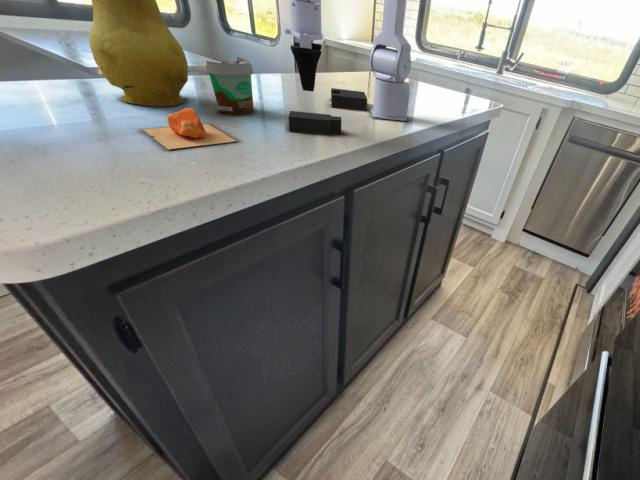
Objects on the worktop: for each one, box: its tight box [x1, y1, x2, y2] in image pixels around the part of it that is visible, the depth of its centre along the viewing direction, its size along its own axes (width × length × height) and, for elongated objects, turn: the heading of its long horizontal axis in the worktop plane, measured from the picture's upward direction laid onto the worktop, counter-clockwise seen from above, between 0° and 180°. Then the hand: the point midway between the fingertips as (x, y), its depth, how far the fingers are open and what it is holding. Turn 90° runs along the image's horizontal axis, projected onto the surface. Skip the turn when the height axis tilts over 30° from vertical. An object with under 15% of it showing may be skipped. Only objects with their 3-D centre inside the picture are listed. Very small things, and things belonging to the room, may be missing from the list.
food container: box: [206, 56, 254, 116], centre depth 77 cm, size 12×6×10 cm, turn 168°
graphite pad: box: [330, 87, 368, 112], centre depth 98 cm, size 10×10×3 cm
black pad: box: [287, 110, 342, 136], centre depth 75 cm, size 11×5×3 cm, turn 99°
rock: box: [141, 107, 236, 150], centre depth 62 cm, size 12×12×4 cm
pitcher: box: [88, 0, 189, 107], centre depth 71 cm, size 17×19×25 cm
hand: (308, 87), depth 70 cm, fingers open, 7 cm apart
